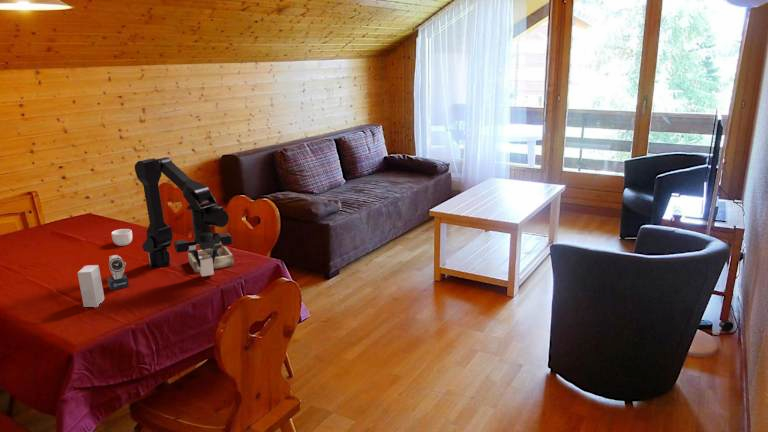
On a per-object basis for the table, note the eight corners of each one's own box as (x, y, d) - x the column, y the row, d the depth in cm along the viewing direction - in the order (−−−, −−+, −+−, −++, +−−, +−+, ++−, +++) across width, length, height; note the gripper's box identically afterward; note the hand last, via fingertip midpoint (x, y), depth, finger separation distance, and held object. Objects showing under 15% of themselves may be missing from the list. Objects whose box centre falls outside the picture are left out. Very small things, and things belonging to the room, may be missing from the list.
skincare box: (91, 300, 181) (85, 265, 177) (104, 299, 181) (99, 264, 178) (83, 308, 175) (76, 272, 171) (97, 307, 175) (91, 271, 172)
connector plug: (202, 276, 196) (200, 256, 194) (199, 272, 199) (197, 252, 197) (213, 274, 198) (211, 254, 195) (211, 270, 201) (209, 250, 199)
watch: (112, 292, 186) (107, 261, 183) (107, 285, 192) (102, 254, 189) (130, 288, 189) (126, 257, 186) (124, 281, 196) (120, 251, 192)
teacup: (136, 243, 234) (135, 231, 232) (118, 248, 229) (116, 235, 227) (126, 238, 240) (124, 226, 239) (107, 243, 235) (105, 230, 234)
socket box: (195, 272, 202) (193, 262, 201) (188, 262, 212) (187, 252, 211) (233, 265, 209) (233, 255, 208) (226, 255, 219) (225, 245, 218)
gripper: (177, 233, 182) (182, 278, 186) (234, 224, 191) (238, 267, 195) (171, 224, 191) (176, 267, 196) (226, 216, 200) (230, 258, 204)
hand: (206, 265), depth 197 cm, fingers closed on connector plug, 4 cm apart
